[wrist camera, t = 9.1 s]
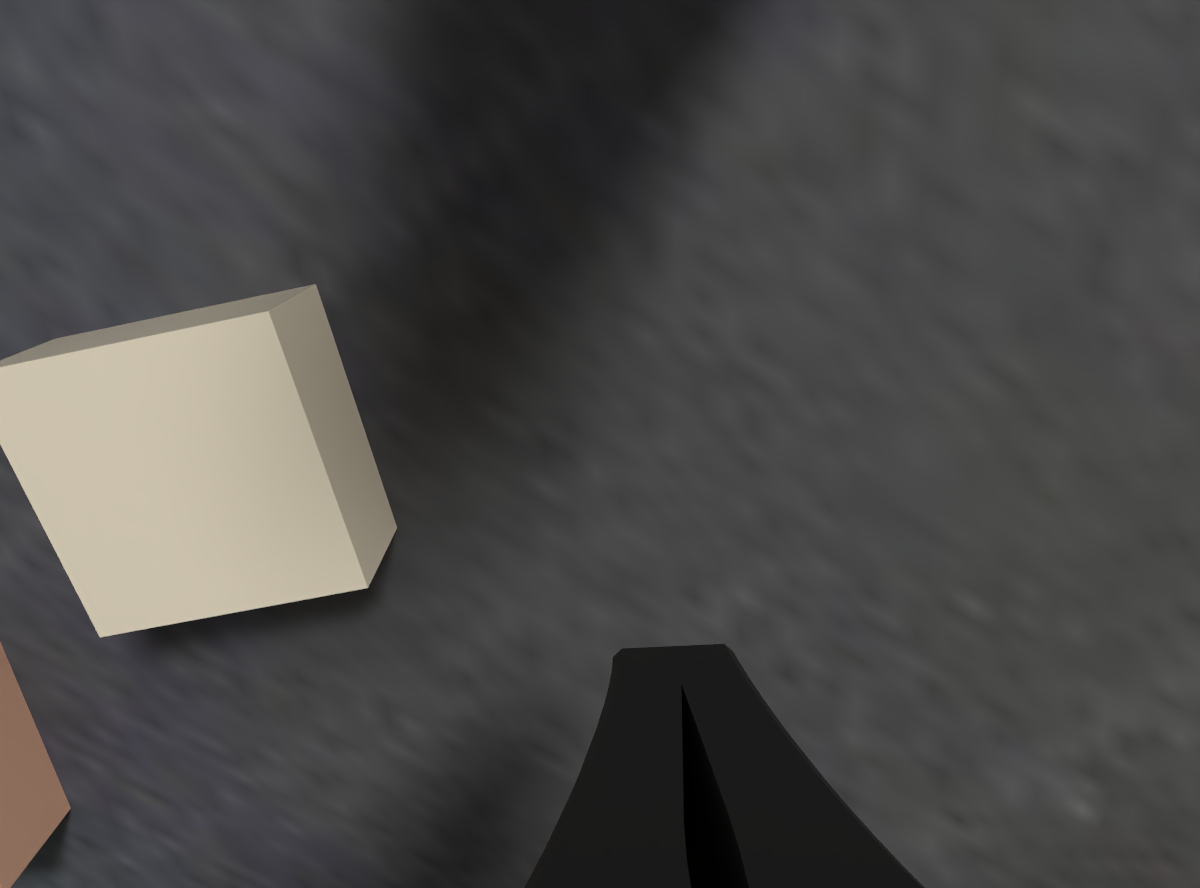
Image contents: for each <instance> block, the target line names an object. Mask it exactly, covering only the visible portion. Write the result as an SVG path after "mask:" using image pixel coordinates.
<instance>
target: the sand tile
mask: <svg viewBox="0 0 1200 888" xmlns="http://www.w3.org/2000/svg"><path fill="white" fill-rule="evenodd" d="M0 445H1V446H2V448H3V450H4V452H5V454H6V456H7V458H8V460H9V462H10V464H11V466H12V468H13V470H14V472H15V474H16V476H17V477H18V479H19V481H20V483H21V485H22V487H23V489H24V491H25V493H26V495H27V497H28V499H29V501H30V503H31V505H32V507H33V508H34V510H35V512H36V514H37V516H38V518H39V520H40V522H41V524H42V526H43V528H44V530H45V532H46V534H47V536H48V538H49V540H50V541H51V543H52V545H53V547H54V549H55V551H56V553H57V555H58V557H59V559H60V561H61V563H62V565H63V567H64V569H65V571H66V572H67V574H68V576H69V578H70V580H71V582H72V584H73V586H74V588H75V590H76V592H77V594H78V596H79V598H80V600H81V602H82V604H83V605H84V607H85V609H86V611H87V613H88V615H89V617H90V619H91V621H92V623H93V625H94V627H95V629H96V631H97V633H98V635H99V636H100V637H105V636H110V635H116V634H121V633H126V632H132V631H137V630H143V629H148V628H154V627H159V626H164V625H170V624H175V623H181V622H186V621H192V620H197V619H203V618H208V617H213V616H219V615H224V614H230V613H235V612H241V611H246V610H251V609H257V608H262V607H268V606H273V605H279V604H284V603H289V602H295V601H300V600H306V599H311V598H317V597H322V596H328V595H333V594H338V593H344V592H349V591H355V590H360V589H366V588H368V587H369V585H370V583H371V581H372V579H373V577H374V575H375V573H376V571H377V569H378V566H379V564H380V562H381V560H382V558H383V556H384V554H385V552H386V550H387V548H388V546H389V544H390V542H391V540H392V538H393V536H394V534H395V531H396V529H397V526H396V523H395V520H394V517H393V514H392V511H391V508H390V505H389V502H388V499H387V496H386V493H385V490H384V487H383V484H382V481H381V478H380V475H379V472H378V469H377V466H376V463H375V460H374V457H373V454H372V451H371V448H370V445H369V442H368V439H367V436H366V433H365V430H364V427H363V424H362V421H361V418H360V415H359V412H358V409H357V406H356V403H355V400H354V397H353V394H352V391H351V388H350V385H349V382H348V379H347V376H346V373H345V370H344V367H343V364H342V361H341V358H340V355H339V352H338V349H337V346H336V343H335V340H334V337H333V334H332V331H331V328H330V325H329V322H328V319H327V316H326V313H325V311H324V308H323V305H322V302H321V299H320V296H319V293H318V290H317V287H316V284H314V285H309V286H304V287H300V288H295V289H290V290H285V291H281V292H276V293H271V294H266V295H262V296H257V297H252V298H247V299H243V300H238V301H233V302H228V303H224V304H219V305H214V306H209V307H205V308H200V309H195V310H190V311H186V312H181V313H176V314H171V315H167V316H162V317H157V318H152V319H148V320H143V321H138V322H133V323H129V324H124V325H119V326H114V327H110V328H105V329H100V330H95V331H91V332H86V333H81V334H76V335H72V336H67V337H62V338H57V339H53V340H51V341H48V342H46V343H43V344H41V345H38V346H36V347H33V348H31V349H28V350H26V351H23V352H20V353H18V354H15V355H13V356H10V357H8V358H5V359H3V360H0Z"/></svg>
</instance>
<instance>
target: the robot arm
mask: <svg viewBox="0 0 1200 888" xmlns="http://www.w3.org/2000/svg"><path fill="white" fill-rule="evenodd" d="M525 888H924V887H923V886H922V885H921V884H920V883H919V882H918V881H917V880H916V879H915V878H914V877H913V876H912V875H911V874H910V873H909V872H908V871H907V869H906V868H905V867H904V866H903V865H902V864H901V863H900V862H899V861H898V860H897V859H896V858H895V857H894V856H893V855H892V854H891V853H890V852H889V851H888V850H887V849H886V848H885V847H884V845H883V844H882V843H881V842H880V841H879V840H878V839H877V838H876V837H875V836H874V835H873V834H872V832H871V831H870V830H869V829H868V828H867V827H866V826H865V825H864V824H863V822H862V821H861V820H860V819H859V818H858V817H857V816H856V815H855V814H854V812H853V811H852V810H851V809H850V808H849V807H848V806H847V805H846V803H845V802H844V801H843V800H842V799H841V798H840V796H839V795H838V794H837V793H836V792H835V791H834V789H833V788H832V787H831V786H830V785H829V784H828V782H827V781H826V780H825V779H824V778H823V776H822V775H821V774H820V773H819V771H818V770H817V769H816V768H815V766H814V765H813V764H812V763H811V761H810V760H809V759H808V758H807V756H806V755H805V754H804V752H803V751H802V750H801V749H800V747H799V746H798V745H797V744H796V742H795V741H794V740H793V739H792V737H791V736H790V735H789V733H788V732H787V731H786V729H785V728H784V727H783V725H782V724H781V723H780V721H779V720H778V719H777V717H776V716H775V715H774V713H773V712H772V710H771V709H770V708H769V706H768V705H767V703H766V702H765V701H764V699H763V698H762V696H761V695H760V693H759V692H758V690H757V689H756V688H755V686H754V685H753V683H752V682H751V680H750V678H749V677H748V675H747V674H746V672H745V671H744V669H743V667H742V666H741V664H740V663H739V661H738V659H737V658H736V656H735V654H734V652H733V651H732V650H730V649H729V648H728V647H727V646H726V645H725V644H714V645H692V646H670V647H648V648H626V649H621V650H620V651H619V652H618V653H617V654H616V655H615V656H614V657H613V665H612V673H611V678H610V684H609V688H608V692H607V696H606V700H605V703H604V707H603V710H602V713H601V716H600V719H599V723H598V726H597V729H596V732H595V734H594V737H593V739H592V742H591V745H590V747H589V750H588V753H587V755H586V758H585V761H584V763H583V766H582V768H581V771H580V774H579V776H578V779H577V781H576V783H575V786H574V788H573V790H572V792H571V795H570V797H569V799H568V801H567V803H566V805H565V807H564V810H563V812H562V814H561V816H560V818H559V820H558V822H557V825H556V827H555V829H554V831H553V833H552V835H551V837H550V840H549V842H548V844H547V846H546V848H545V850H544V852H543V854H542V856H541V858H540V860H539V861H538V863H537V865H536V867H535V869H534V871H533V873H532V875H531V877H530V879H529V880H528V882H527V884H526V886H525Z"/></svg>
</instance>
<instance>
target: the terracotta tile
mask: <svg viewBox="0 0 1200 888" xmlns="http://www.w3.org/2000/svg"><path fill="white" fill-rule="evenodd" d="M70 809H71V808H70V805H69V803H68V801H67V798H66V796H65V794H64V791H63V789H62V787H61V784H60V782H59V780H58V777H57V775H56V772H55V770H54V768H53V765H52V763H51V761H50V758H49V756H48V754H47V751H46V749H45V746H44V744H43V742H42V739H41V737H40V735H39V732H38V730H37V728H36V725H35V723H34V720H33V718H32V716H31V713H30V711H29V709H28V706H27V704H26V702H25V699H24V697H23V694H22V692H21V690H20V687H19V685H18V683H17V680H16V678H15V676H14V673H13V671H12V668H11V666H10V664H9V661H8V659H7V657H6V654H5V652H4V650H3V647H2V645H1V642H0V888H10V887H11V886H12V885H13V884H14V882H15V881H16V880H17V878H18V877H19V876H20V874H21V873H22V872H23V870H24V869H25V868H26V867H27V865H28V864H29V863H30V861H31V860H32V859H33V857H34V856H35V855H36V853H37V852H38V851H39V850H40V848H41V847H42V846H43V844H44V843H45V842H46V840H47V839H48V838H49V836H50V835H51V834H52V833H53V831H54V830H55V829H56V827H57V826H58V825H59V823H60V822H61V821H62V819H63V818H64V817H65V815H66V814H67V813H68V812H69V810H70Z"/></svg>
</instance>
